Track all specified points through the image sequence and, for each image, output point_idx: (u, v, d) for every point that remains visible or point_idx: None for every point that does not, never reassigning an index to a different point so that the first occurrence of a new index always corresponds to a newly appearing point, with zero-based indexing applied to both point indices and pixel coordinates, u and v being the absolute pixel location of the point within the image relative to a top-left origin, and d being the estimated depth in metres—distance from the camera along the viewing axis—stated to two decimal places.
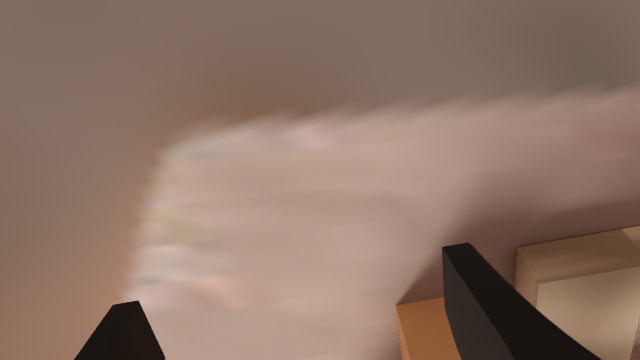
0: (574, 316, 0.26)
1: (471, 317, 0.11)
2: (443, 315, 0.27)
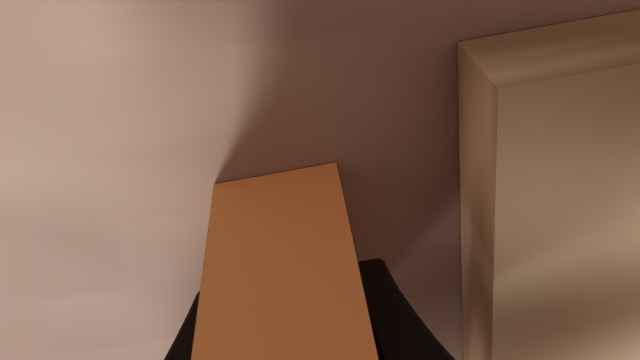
0: (585, 186, 0.11)
1: None
2: (301, 197, 0.13)
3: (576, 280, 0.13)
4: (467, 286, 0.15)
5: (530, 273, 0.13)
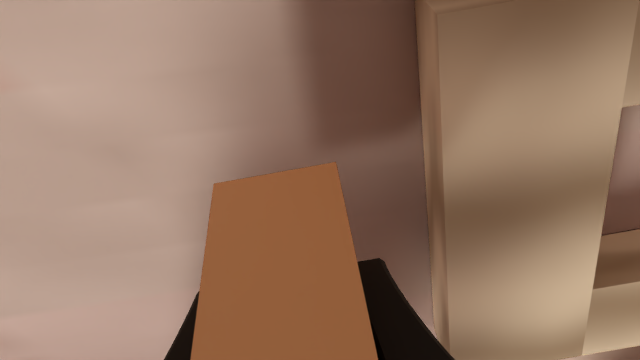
0: (509, 95, 0.15)
1: None
2: (301, 197, 0.13)
3: (509, 177, 0.16)
4: (429, 196, 0.19)
5: (472, 170, 0.16)
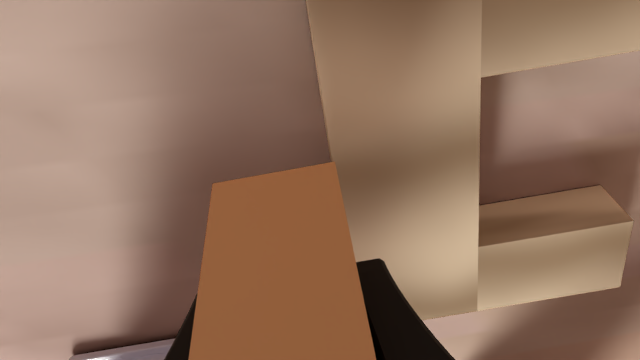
0: (378, 65, 0.17)
1: (371, 334, 0.11)
2: (300, 196, 0.13)
3: (388, 140, 0.18)
4: None
5: (354, 133, 0.18)
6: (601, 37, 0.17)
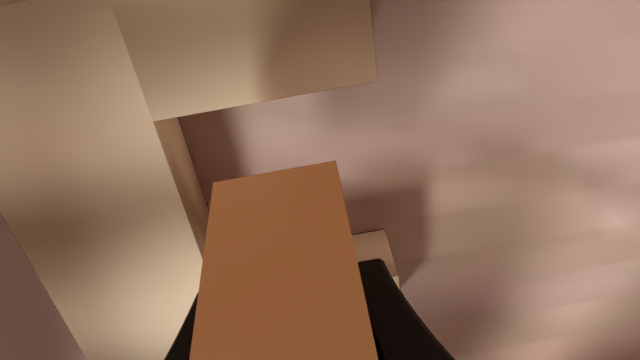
0: (18, 109, 0.14)
1: None
2: (301, 195, 0.12)
3: (63, 193, 0.16)
4: None
5: (18, 186, 0.15)
6: (288, 73, 0.14)
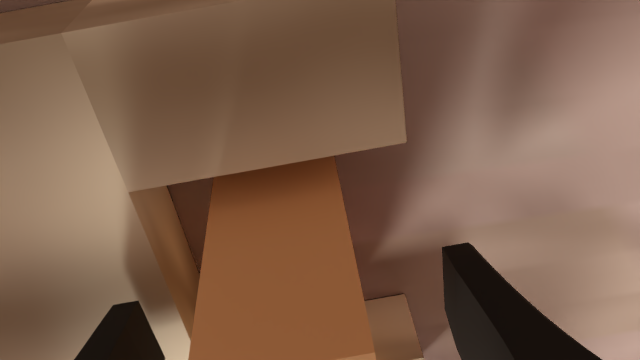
0: None
1: (471, 316, 0.11)
2: (297, 166, 0.14)
3: (21, 275, 0.13)
4: None
5: None
6: (296, 134, 0.12)
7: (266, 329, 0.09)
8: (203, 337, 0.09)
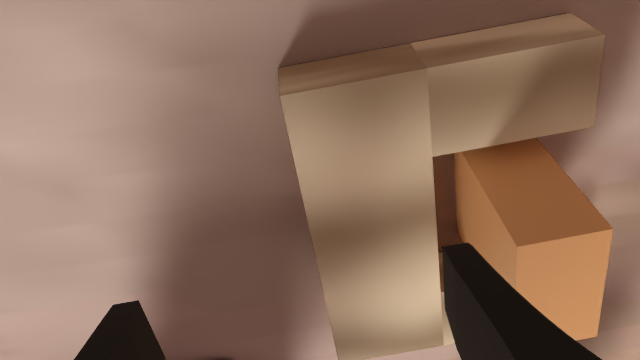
0: (344, 150, 0.20)
1: (471, 316, 0.11)
2: (513, 143, 0.22)
3: (355, 208, 0.22)
4: None
5: (326, 203, 0.21)
6: (533, 122, 0.20)
7: (546, 222, 0.18)
8: (513, 227, 0.18)
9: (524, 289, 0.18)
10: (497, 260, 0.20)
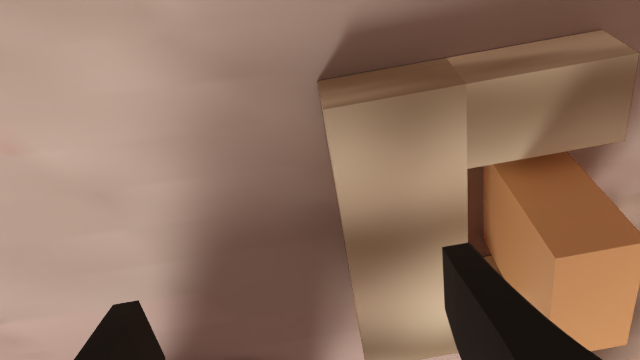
0: (382, 161, 0.21)
1: (471, 317, 0.11)
2: (543, 155, 0.23)
3: (390, 217, 0.22)
4: (342, 228, 0.25)
5: (362, 213, 0.22)
6: (566, 136, 0.21)
7: (583, 234, 0.19)
8: (550, 239, 0.19)
9: (559, 299, 0.19)
10: (531, 270, 0.21)
